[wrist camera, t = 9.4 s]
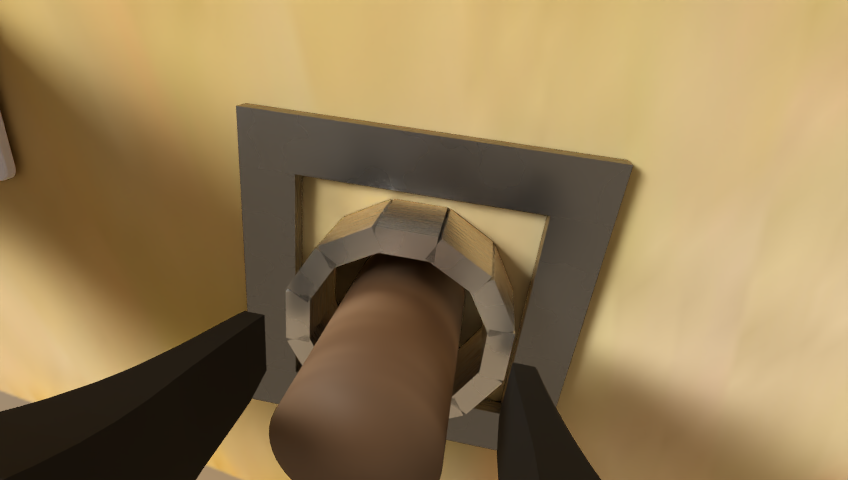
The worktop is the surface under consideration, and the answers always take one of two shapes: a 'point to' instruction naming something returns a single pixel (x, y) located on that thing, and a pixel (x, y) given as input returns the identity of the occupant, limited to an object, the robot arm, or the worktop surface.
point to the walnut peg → (376, 380)
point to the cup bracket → (423, 241)
